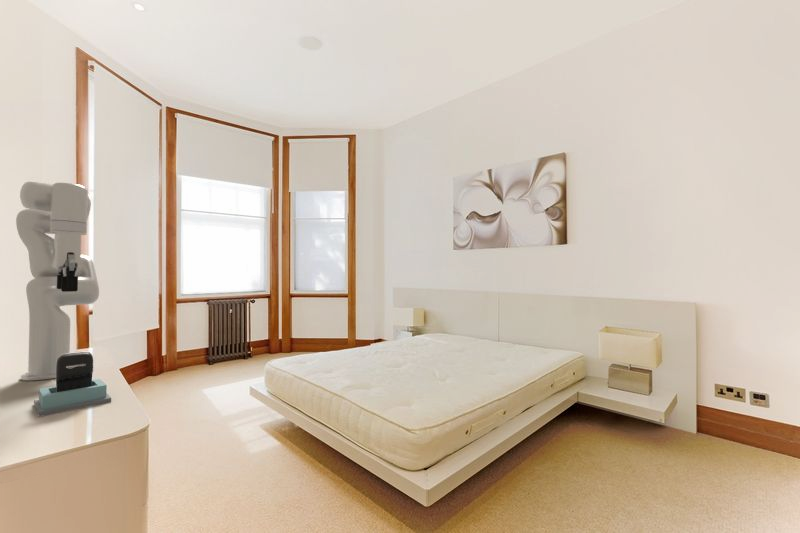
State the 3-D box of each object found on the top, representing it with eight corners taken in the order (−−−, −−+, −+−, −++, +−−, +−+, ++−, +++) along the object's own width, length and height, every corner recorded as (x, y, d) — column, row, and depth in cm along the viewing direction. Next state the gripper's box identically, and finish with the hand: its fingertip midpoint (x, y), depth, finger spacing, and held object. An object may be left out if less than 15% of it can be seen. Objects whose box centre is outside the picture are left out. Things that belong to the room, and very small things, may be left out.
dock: (34, 404, 90) (34, 388, 90) (101, 391, 100) (101, 377, 100) (38, 416, 82) (39, 398, 82) (111, 401, 92) (111, 385, 92)
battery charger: (55, 404, 87) (56, 356, 87) (54, 401, 90) (55, 354, 90) (93, 397, 92) (94, 352, 92) (91, 394, 95) (92, 350, 95)
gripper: (46, 228, 104) (44, 288, 104) (54, 225, 93) (51, 293, 93) (81, 230, 110) (79, 287, 110) (92, 228, 98) (90, 292, 98)
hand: (66, 290), depth 101 cm, fingers open, 9 cm apart
